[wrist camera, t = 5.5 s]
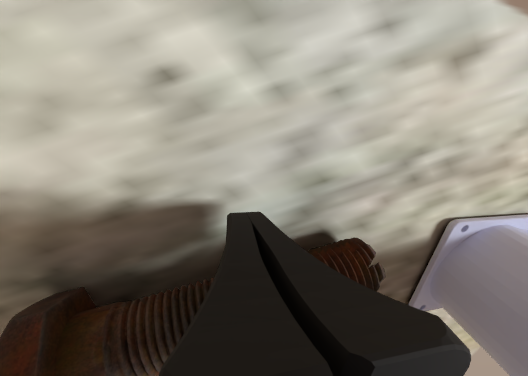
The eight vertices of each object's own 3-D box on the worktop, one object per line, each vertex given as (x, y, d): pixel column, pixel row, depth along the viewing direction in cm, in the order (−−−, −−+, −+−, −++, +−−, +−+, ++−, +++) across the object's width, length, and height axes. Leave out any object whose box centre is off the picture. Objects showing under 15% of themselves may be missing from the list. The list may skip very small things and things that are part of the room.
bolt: (331, 233, 17) (79, 303, 14) (360, 193, 12) (4, 282, 10) (376, 331, 14) (69, 445, 11) (434, 322, 10) (-45, 507, 7)
